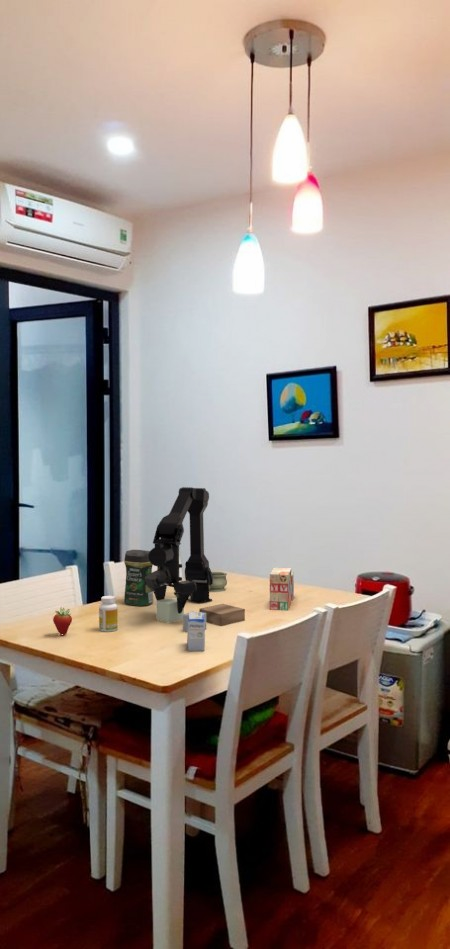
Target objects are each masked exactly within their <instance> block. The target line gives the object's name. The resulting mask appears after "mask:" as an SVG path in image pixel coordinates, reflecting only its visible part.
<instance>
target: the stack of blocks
mask: <svg viewBox="0 0 450 949" xmlns="http://www.w3.org/2000/svg"><path fill="white" fill-rule="evenodd" d="M294 582H295V581H294V571H292V567H273V568H272V570H271V572H269V610H270V611H285V612H286V611H289V609H290V608H289V607H291V606H292V602H291V601H293V600H294V593H295V592H294V589H295V586H294V585H295V583H294Z"/></svg>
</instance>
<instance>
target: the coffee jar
mask: <svg viewBox="0 0 450 949" xmlns="http://www.w3.org/2000/svg"><path fill="white" fill-rule="evenodd" d="M150 551H151V550H144V549H129V550H126V551H125V554H124V566H125V585H124V586H125V587H124V604H127V605H131V606H137V607H143V606H150V605H152V604H153V602H154V592H153V591H152V590H151V589H150V588H148V586H147V585H145V577H146V576H147V575H149V574H151V573H152V572H153V571H152V570H153V567H154V565H152V564H151V563H150V561H149V557H148V556H149V552H150Z"/></svg>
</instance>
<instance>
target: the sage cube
mask: <svg viewBox="0 0 450 949" xmlns="http://www.w3.org/2000/svg"><path fill="white" fill-rule="evenodd" d="M155 603H156V604H155V605H156V608H155V609H156V613H155V614H156V621H157V620H158V621H161V622H165V623H168V624H171V623H175V622H178V621H183V614H185V612H184V608H185V607H184V608H183V611H182V613H180V614H178V610H177V598H173V597H168V598H165V599H162V600H156V602H155Z"/></svg>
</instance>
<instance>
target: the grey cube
mask: <svg viewBox="0 0 450 949" xmlns="http://www.w3.org/2000/svg"><path fill="white" fill-rule="evenodd" d="M190 612H196V611H195V610H193V611H192V610H191V611H190ZM203 614H204V619H205V631H207V622H206V613H203ZM182 632H186V633H188V612H186V613H184V614H183V620H182Z"/></svg>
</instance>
